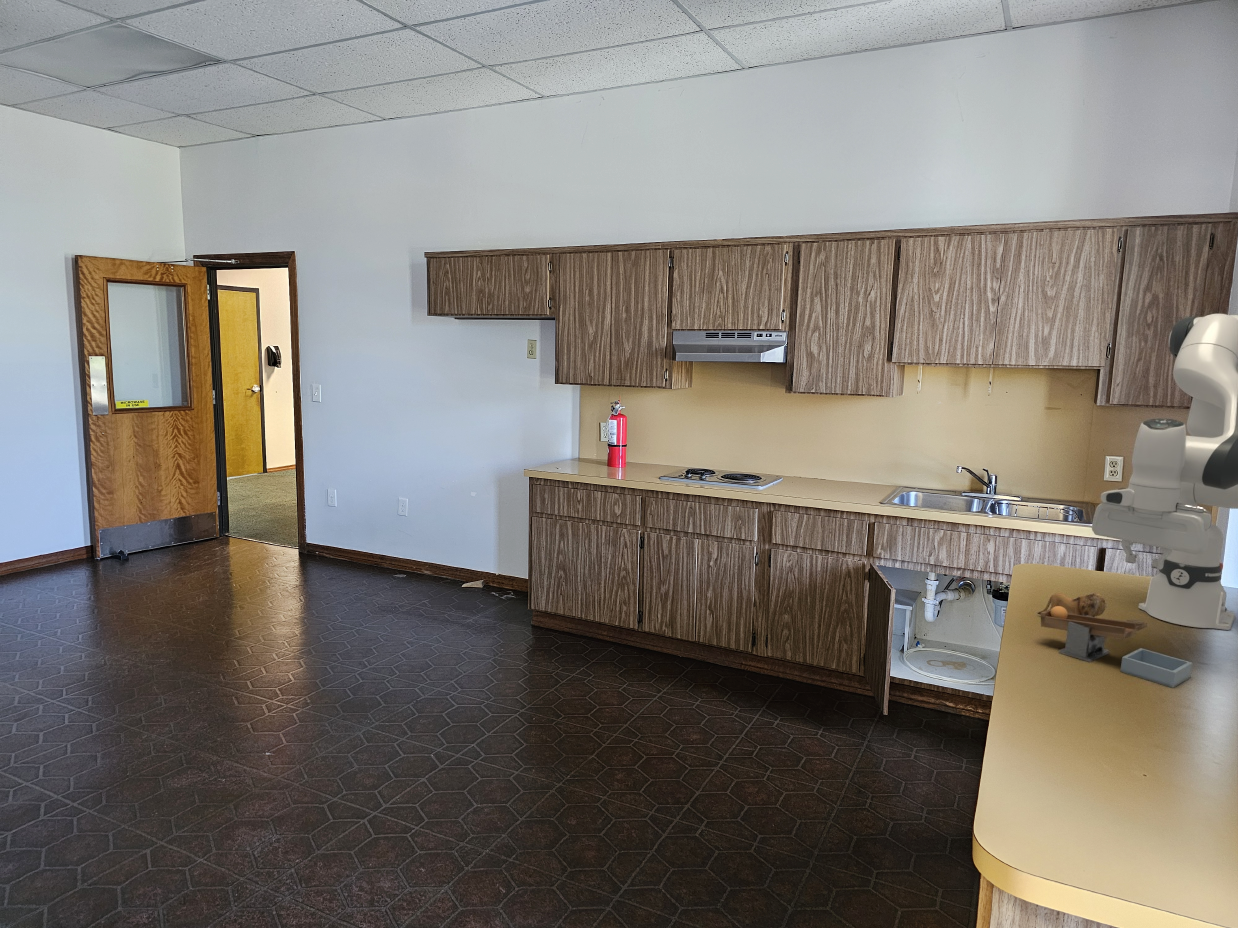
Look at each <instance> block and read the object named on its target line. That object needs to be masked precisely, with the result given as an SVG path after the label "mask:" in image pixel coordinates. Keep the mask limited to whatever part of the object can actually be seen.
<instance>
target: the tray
mask: <svg viewBox="0 0 1238 928" xmlns="http://www.w3.org/2000/svg"><path fill="white" fill-rule="evenodd" d="M1192 669H1193V662H1191V661H1188V660H1184V659H1182V658H1181V659H1180V658H1178V657H1173V656H1170V655H1166V654H1163V653H1159V652H1156V651H1153V650H1148V649H1146V648H1142V647H1140V648H1138V649H1136V650H1134V651H1132V652H1130V653H1128V654H1126V655H1123V656H1122V658H1121V665H1120V671H1119V672H1121V673H1124V674H1127V675H1130V676H1133V677H1137V678H1140V679H1142V680H1146V681H1148V682H1153V683H1156V684H1159V685H1162V686H1166V687H1169V688H1172V689H1173V688H1176V686H1178V685H1180V684H1181V683H1183V682H1185V681H1188V679H1190V678H1191V675H1192Z"/></svg>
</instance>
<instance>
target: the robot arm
mask: <svg viewBox="0 0 1238 928" xmlns="http://www.w3.org/2000/svg"><path fill="white" fill-rule="evenodd" d="M1168 347H1169V352H1170V354H1171V355H1172V356H1173V358H1175V361H1174V364H1173V365H1174V366H1173V370H1172V371H1173V372H1172V377H1173V380H1174V382H1175V384H1176V386H1177V387H1179V388H1180V389H1181V390H1182V391H1183V392H1184V393H1185V394H1187V395H1188V396H1190V397H1192V400H1191V404H1190V408H1189V412H1188V417H1187V422H1186V424H1185V423H1184V422H1183V421H1182V420H1181V421H1180V420H1177V419H1173V418H1150V419H1147V420H1145V421H1143V422H1141V423H1140V426H1139V428H1138V431H1137V434H1136V437H1135V441H1134V445H1133V451H1132V456H1131V457H1132V458H1131V465H1132V473H1131V476H1130V477H1129V481H1128V487H1122V488H1121V487H1120V488H1118V489H1112V490H1107V491H1105V492H1102V493H1101V494H1100V501H1101V503H1100V504H1098V505H1097V506H1096V508H1095V511H1094V515H1093V518H1092V522H1091V523H1092V524H1091V530H1092V532H1093V533H1094V535H1095V536H1098V537H1104V538H1110V539H1116V540H1121V543H1120V545H1121V548H1122V550H1123V552H1124V554H1125V560H1124V561H1125V563H1126V564H1133V565H1134V564H1136V563H1137V558H1138V554H1135V553H1133V550H1132V548H1131V546H1133V545H1134V544H1133V543H1135V544H1141V545H1146V546H1150V547H1151V546H1152V547H1157V548H1160V551H1159V553H1160V554H1161V556H1160V557H1159V558H1153V559H1152V560H1151V561H1152V562H1151V563H1152V564H1151V568H1152V569H1156V570H1158V571H1159V573H1157V574H1156V575H1154V576H1152V577H1151V578H1150V581H1149V585H1148V591H1147V595H1146V599H1145V602H1140V603H1139V604H1138V609H1140V610H1142V611H1144V612H1146V613H1147V614H1148V615H1149V616H1152V617H1153V618H1156V619H1159V620H1162V621H1164V622H1167V623H1171V624H1175V625H1181V626H1186V627H1190V628H1191V627H1193V628H1202V629H1215V630H1216V629H1218V630H1225V631H1227V630H1228V631H1230V630H1231V628H1232V626H1233V624H1234V621H1235V619H1236V612H1234V611H1232V610H1229V609H1227V607H1226V602H1227V592H1226V590H1225V588H1224V587H1223V584H1222V583H1221V580H1222V574H1223V569H1224V563H1222V562H1221V557H1222V549H1223V545H1224V544H1223V543H1224V534H1223V532H1222V530H1221V528H1219V526H1218V525H1217V524H1216V523H1214V522H1212V521H1213V515H1212V513H1211V512H1210V510H1207V509H1205V507H1203V506H1199V505H1205V506H1211V507H1218V508H1223V509H1225V508H1226V509H1231V510H1233V509H1235V510H1236V509H1237V510H1238V314H1230V315H1229V314H1226V313H1212V314H1208V315H1204V316H1197V315H1195V316H1187V317H1184V318H1181V319H1180V320H1178V321H1177V322H1175V323H1174V325H1173V327H1172V329H1171V331H1170V333H1169V336H1168ZM1187 432H1188V434H1189V435H1187Z"/></svg>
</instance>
